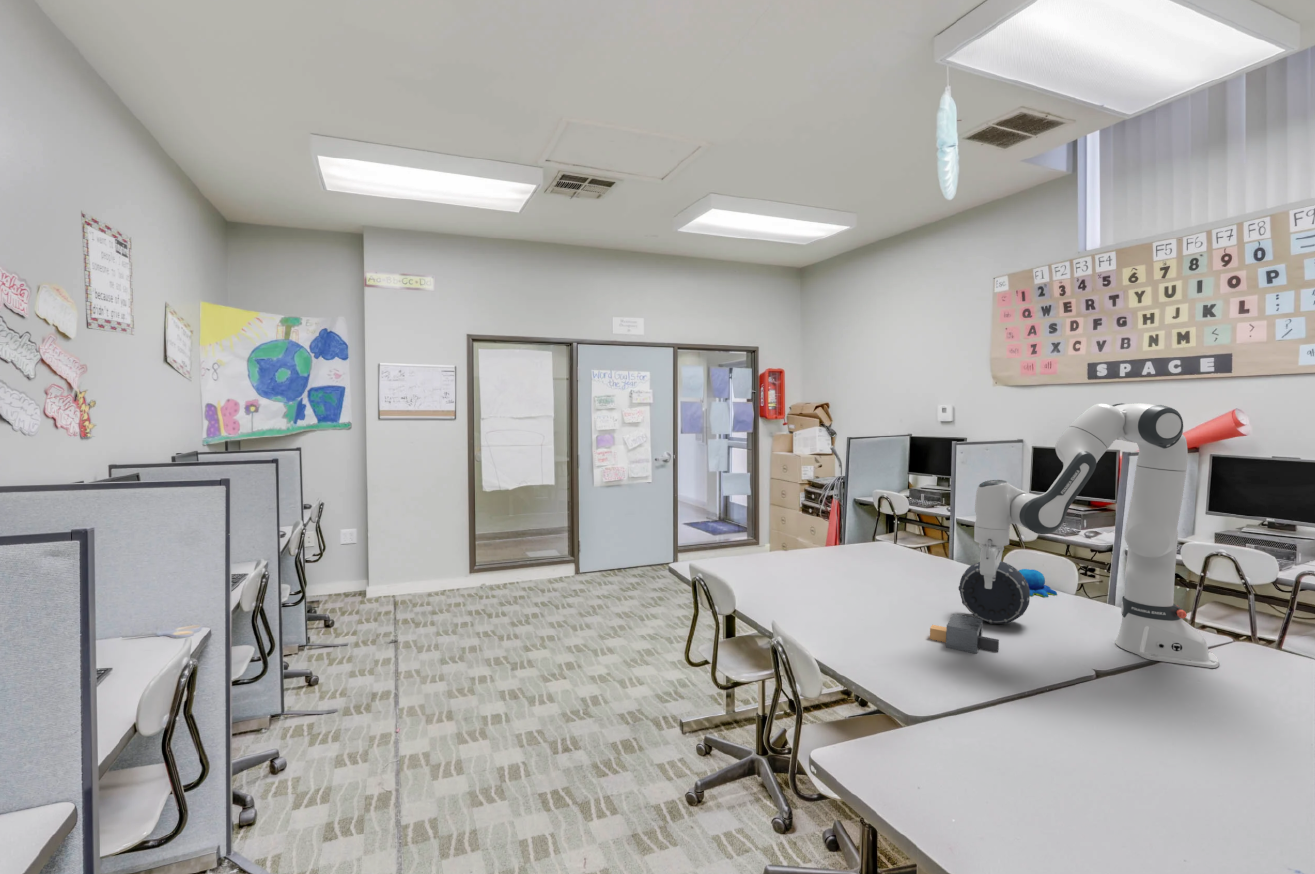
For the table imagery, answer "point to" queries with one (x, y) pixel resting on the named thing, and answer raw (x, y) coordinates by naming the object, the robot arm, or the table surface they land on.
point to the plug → (983, 643)
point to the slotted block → (963, 633)
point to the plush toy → (1036, 583)
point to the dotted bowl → (995, 594)
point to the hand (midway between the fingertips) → (990, 584)
